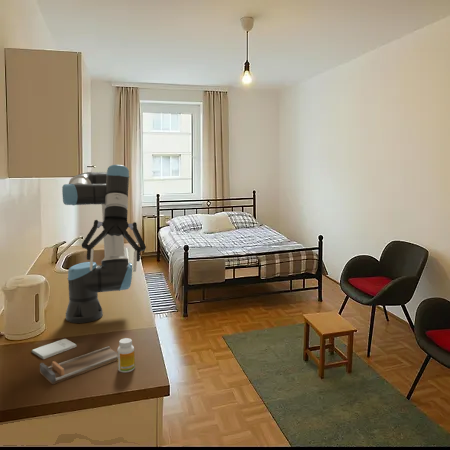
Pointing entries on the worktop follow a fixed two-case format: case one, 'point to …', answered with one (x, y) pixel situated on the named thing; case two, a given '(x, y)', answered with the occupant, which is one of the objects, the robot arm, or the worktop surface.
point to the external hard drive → (53, 348)
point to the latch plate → (58, 368)
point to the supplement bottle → (126, 355)
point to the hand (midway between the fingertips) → (113, 270)
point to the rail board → (79, 365)
